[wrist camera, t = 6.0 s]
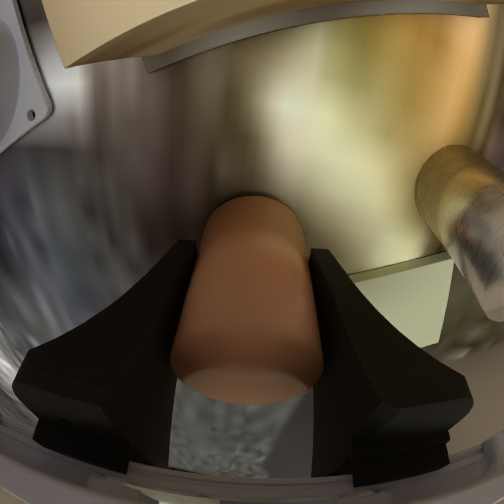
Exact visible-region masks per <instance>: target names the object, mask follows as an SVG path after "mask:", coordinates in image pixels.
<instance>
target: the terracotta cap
mask: <svg viewBox="0 0 504 504" xmlns="http://www.w3.org/2000/svg"><path fill="white" fill-rule="evenodd" d="M170 362H171V367H172V369H173V371H174V373H175V375H176V376H177V377H178V378H179V379H180V380H181V381H182V382H183V383H184V384H185V385H186V386H188V387H189V388H191V389H192V390H194V391H196V392H198V393H200V394H202V395H204V396H207V397H209V398H213V399H216V400H219V401H223V402H229V403H235V404H248V405H257V404H269V403H275V402H280V401H284V400H287V399H290V398H293V397H296V396H298V395H300V394H302V393H304V392H305V391H307V390H308V389H310V388H311V387H312V386H314V385H315V383H316V382H317V381H318V380H319V378H320V377H321V375H322V372H323V368H324V363H323V355H322V347H321V340H320V333H319V325H318V319H317V312H316V305H315V299H314V292H313V286H312V280H311V274H310V268H309V262H308V256H307V250H306V244H305V239H304V233H303V229H302V226H301V223H300V221H299V219H298V218H297V216H296V215H295V214H294V213H293V212H292V211H291V210H290V209H289V208H288V207H287V206H285V205H284V204H282V203H280V202H278V201H276V200H274V199H271V198H267V197H262V196H244V197H239V198H235V199H232V200H230V201H228V202H226V203H224V204H223V205H221V206H220V207H218V208H217V209H216V210H215V211H214V212H213V213H212V215H211V216H210V218H209V219H208V221H207V223H206V226H205V229H204V233H203V236H202V240H201V243H200V246H199V250H198V253H197V257H196V260H195V264H194V267H193V271H192V275H191V278H190V282H189V285H188V289H187V293H186V297H185V300H184V304H183V308H182V312H181V316H180V319H179V323H178V327H177V331H176V335H175V339H174V343H173V347H172V351H171V356H170Z"/></svg>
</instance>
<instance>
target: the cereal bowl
mask: <svg viewBox="0 0 504 504" xmlns="http://www.w3.org/2000/svg"><path fill="white" fill-rule="evenodd" d="M125 486H128V487H131V488H134V489H138V490H140V491H141V492H142V494H144V495H146V496H148V497H151V498H153V499H156V500H158V501H159V504H220V502H219V500H217V499H208V498H199V497H191V496H185V495H178V494H172V493H167V492H161V491H156V490H151V489H147V488H142V487H138V486H133V485H129V484H125Z"/></svg>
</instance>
